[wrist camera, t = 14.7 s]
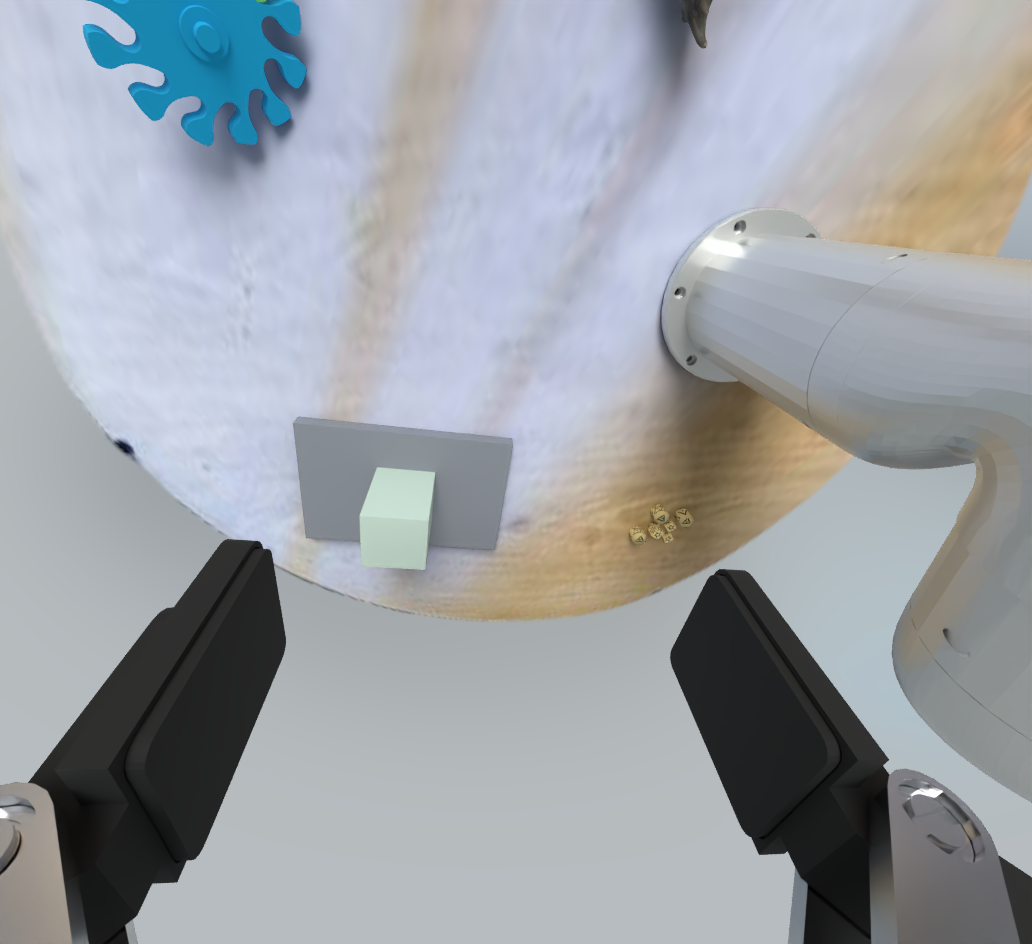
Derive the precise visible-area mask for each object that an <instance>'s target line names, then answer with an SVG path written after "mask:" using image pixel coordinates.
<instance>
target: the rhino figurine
mask: <svg viewBox="0 0 1032 944" xmlns="http://www.w3.org/2000/svg"><path fill="white" fill-rule="evenodd" d="M711 2H712V0H683V2H682V20H683V22H687V23H688V24H689V25H690V27H691V30H692V33H693V35H694V38H695V40H696V42H697V44H698V45H699V46H700V47H701V48H706V46H707V41H706V38H705V26H706V18H707V15H708V13H709V7H710V5H711Z"/></svg>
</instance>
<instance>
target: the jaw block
mask: <svg viewBox="0 0 1032 944" xmlns="http://www.w3.org/2000/svg"><path fill="white" fill-rule="evenodd" d="M434 484H435V472H427V471H415V470H404V469H392V468H381V467H377V469H376V472H375V474H374V477H373V480H372V483H371V485H370V488H369V491H368V494H367V497H366V499H365V502H364V505H363V508H362V510H361V513H360V545H361V566H363V567H382V568H401V569H419V570H425V569H426V561H427V553H428V545H429V538H430V530H431V522H432V512H433V498H434Z"/></svg>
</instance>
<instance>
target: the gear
mask: <svg viewBox="0 0 1032 944" xmlns="http://www.w3.org/2000/svg"><path fill="white" fill-rule="evenodd" d="M88 1H92V2H95V3H98V4H100V5H102V6H104V7H106V8H108V9H110V10H111V11H113V12H114V13H116V14H117V15H118V16H120V17H121V18H122V19H123V20H124V21H125V22H126V23H128V24H129V25H130V26H131V27H132V28H133V29H134V31H135V34H136V40H135V42H134V43H133V44H132V45H123V44H121V43H119V42H118V41H116V40H115V39H114V38H113V37H112V36H111V35H109V34H108V33H107V32H106V31H105V30H104V29H102V28H101V27H99V26H96V25H94V24H85V25H83V33H84V37H85V40H86V43H87V46H88V48H89V50H90V52H91V54H92V56H93V58H94V60H95V61H96V63H97V64H98V65H100V66H102V67H104V68H108V69H113V68H116V67H118V66H120V65H123V64H129V63H135V64H142V65H145V66H149V67H151V68H154V69H157V70H159V71H161V72H162V73H164V77H165V81H164V83H163V85H162V86H159V87H154V86H150V85H148V84H145V83H141V82H135V83H132V84H131V85H130V86H129V88H128V90H129V92H130V94H131V96H132V97H133V99H134V100H135V102H136V103H137V105H138V106H139V108H140V109H141V110H142V111H143V112H144V113H145V114H146V115H147V116H148V117H149V118H150V119H151V120H153V121H156V120H160V119H161V118H162V117H163V116H164V113H165V111H166V109H167V107H168V106H169V105H170V104H171V103H172V102H173V101H175V100H177V99H180V98H183V97H188V96H195V97H198V98H199V99H200V100H201V107H200V109H199V110H198V111H195V112H191V113H187V114H185V115H184V116H183V117H182V119H181V126H182V128H183V129H184V130H185V132H186V133H187V134H188V135H189V136H190V137H191V138H193V139H194V140H196V141H198V142H200V143H202V144H204V145H206V146H210V145H211V144H212V143H213V140H214V134H213V120H214V117H215V114H216V113H217V111H218V110H219V109H220V107H221V106H222V105H223V104H224V103H226V102H231V103H234V104H235V106H236V111H235V114H234V115H233V116H232V118H231V119H230V120H229V122H228V130H229V132H230V134H231V136H232V137H233V138H234V140H235V141H236V142H237V143H240V144H257V142H258V135H257V132H256V130H255V129H254V127H253V125H252V123H251V121H250V117H249V112H248V100H249V94H250V92H251V91H252V90H253V89H260V90H262V93H263V99H262V110H263V112H264V114H265V116H266V117H267V118H268V119H269V120H270V122H271V123H272V124H273V125H274V126H278V125H281V124H283V123H284V122H286V121H287V120H288V119H290V118H291V114H290V111H289V109H288V107H287V106H286V105H285V104H284V103H283V102H282V100H281V99H280V98H279V97H277V96H276V95H275V94H274V93H273V92H272V90H271V88H270V86H269V84H268V81H267V79H266V76H265V73H264V63H265V61H266V60H268V59H271V58H272V59H275V60H276V62H277V65H278V68H279V71H280V73H281V75H282V76H283V78H284V79H285V80H286V81H287V82H288V83H289V84H290V85H291V86H292V87H294V88H297V89H298V88H299V87H300V86H301V84H302V82H303V80H304V78H305V74H306V71H307V69H306V68H305V66H304V65H303V63H302V62H301V61H300V60H299V59H298V58H297V57H296V56H294V55H293V54H291V53H285V52H283V51H280V50H279V49H277V48H275V47H274V46H273V45H272V44H270V42H269V41H268V40H267V39H266V37H265V36H264V34H263V32H262V28H261V24H262V20H263V19H264V18H265V17H267V16H272V17H274V18H275V20H276V21H277V22H278V23H279V25H280V26H281V27H282V28H283V29H284V30H285V31H286V32H288V33H289V34H291V35H299V34H300V30H301V19H300V11H299V6H298V5H297V4H295V3H294V2H293V1H292V0H88Z"/></svg>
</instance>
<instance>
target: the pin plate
mask: <svg viewBox="0 0 1032 944" xmlns="http://www.w3.org/2000/svg"><path fill="white" fill-rule="evenodd" d="M293 426H294V435H295V444H296V453H297V462H298V471H299V480H300V489H301V498H302V507H303V516H304V525H305V534H306V538H312V539H328V540H344V541H360V513H361V510H362V508H363V505H364V502H365V499H366V497H367V494H368V491H369V488H370V485H371V483H372V480H373V477H374V474H375V472H376V469H377V467H381V468H392V469H404V470H415V471H427V472H435V484H434V498H433V512H432V522H431V530H430V538H429V545H428V546H440V547H456V548H472V549H488V550H495V547H496V541H497V535H498V530H499V524H500V518H501V512H502V506H503V500H504V495H505V489H506V483H507V477H508V471H509V465H510V459H511V454H512V448H513V442H512V439H511V438H501V437H491V436H482V435H472V434H462V433H452V432H442V431H432V430H423V429H413V428H403V427H393V426H383V425H373V424H363V423H354V422H344V421H334V420H324V419H314V418H304V417H298V418H297V419H296V420H295V421H294V423H293Z"/></svg>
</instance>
